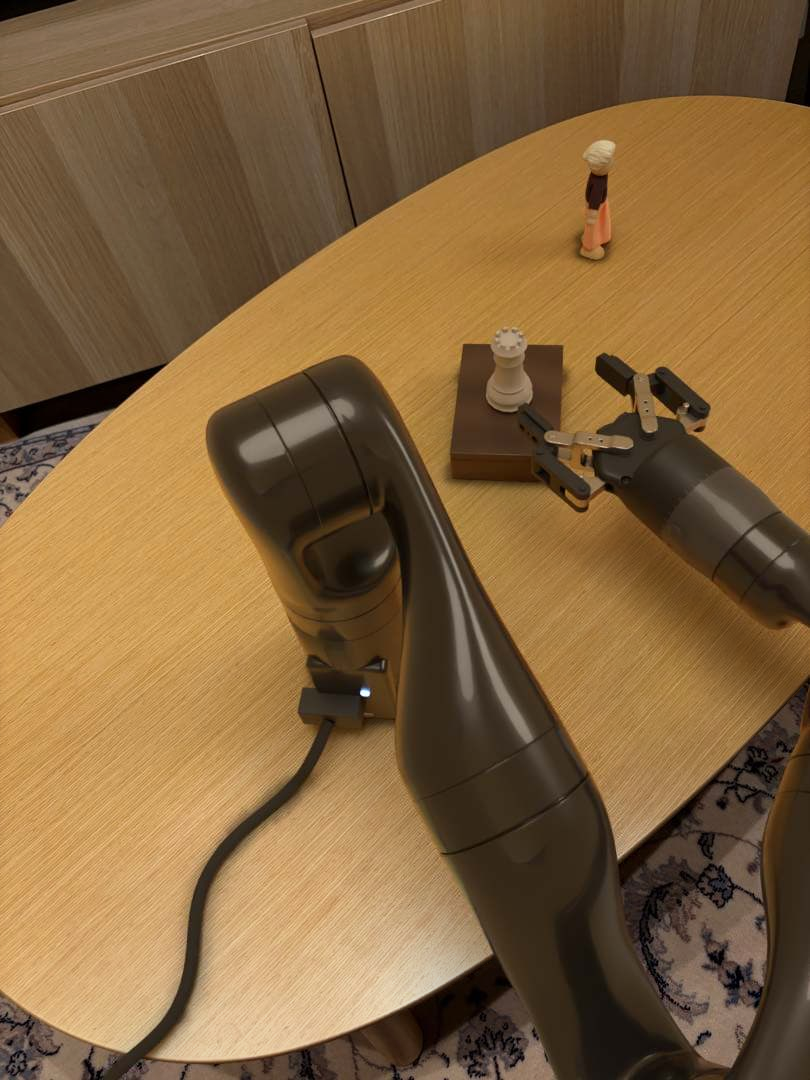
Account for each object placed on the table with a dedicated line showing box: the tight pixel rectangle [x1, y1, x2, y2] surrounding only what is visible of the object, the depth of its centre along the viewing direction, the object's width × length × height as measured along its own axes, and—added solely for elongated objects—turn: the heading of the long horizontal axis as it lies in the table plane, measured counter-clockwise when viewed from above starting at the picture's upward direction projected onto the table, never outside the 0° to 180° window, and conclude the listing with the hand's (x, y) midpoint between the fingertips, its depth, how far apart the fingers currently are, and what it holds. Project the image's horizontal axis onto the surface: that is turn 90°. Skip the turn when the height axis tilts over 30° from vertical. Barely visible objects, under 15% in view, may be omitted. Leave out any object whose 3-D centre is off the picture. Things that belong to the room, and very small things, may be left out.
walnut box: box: [449, 343, 564, 483], centre depth 85 cm, size 14×10×4 cm
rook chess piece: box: [486, 325, 533, 412], centre depth 79 cm, size 4×4×8 cm
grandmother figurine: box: [579, 139, 616, 260], centre depth 94 cm, size 8×4×13 cm, turn 179°
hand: (560, 385), depth 73 cm, fingers open, 8 cm apart
